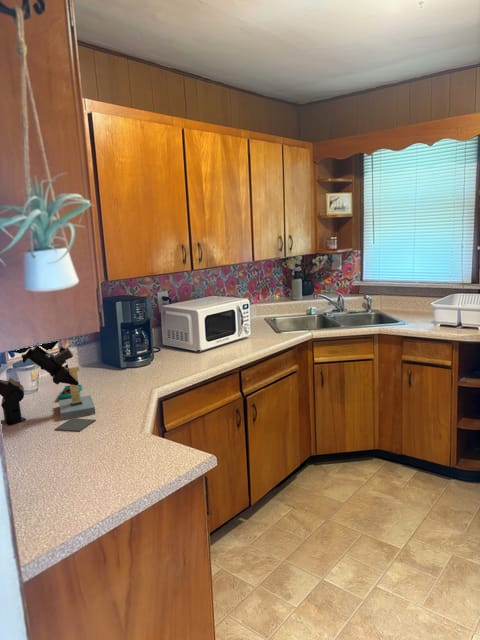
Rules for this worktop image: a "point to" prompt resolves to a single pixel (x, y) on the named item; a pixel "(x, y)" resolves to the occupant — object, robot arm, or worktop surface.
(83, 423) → the rubber mat
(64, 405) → the block
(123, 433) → the worktop surface
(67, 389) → the digital multimeter
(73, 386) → the brass key
